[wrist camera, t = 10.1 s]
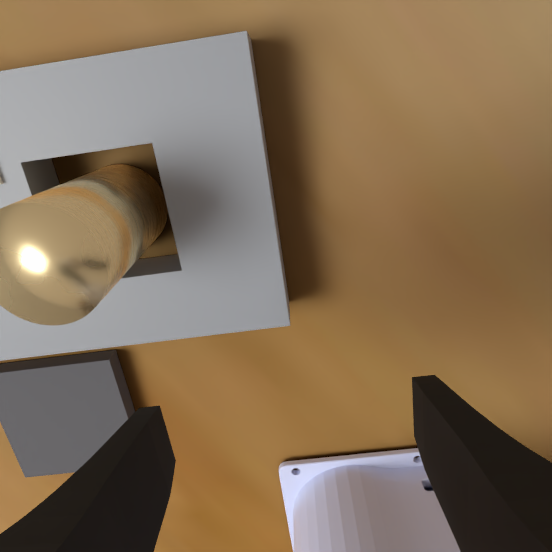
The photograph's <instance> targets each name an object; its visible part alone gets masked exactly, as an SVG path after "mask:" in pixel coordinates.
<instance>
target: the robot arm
mask: <svg viewBox="0 0 552 552" xmlns="http://www.w3.org/2000/svg"><path fill="white" fill-rule="evenodd" d="M412 388H413V416H414V437H415V440H416V443H417V447H418V448H413V449H403V450H393V451H384V452H374V453H364V454H354V455H344V456H334V457H325V458H315V459H305V460H295V461H286V462H283V463H281V464H280V466H279V476H280V482H281V487H282V493H283V498H284V504H285V509H286V515H287V520H288V526H289V531H290V537H291V542H292V548H293V552H552V463H551V462H550V461H548V460H546V459H545V458H543V457H541V456H540V455H538V454H536V453H535V452H533V451H531V450H530V449H528V448H527V447H525V446H524V445H522V444H521V443H519V442H518V441H516V440H515V439H514V438H512V437H511V436H509V435H508V434H506V433H505V432H504V431H502V430H501V429H499V428H498V427H497V426H495V425H494V424H493V423H492V422H490V421H489V420H488V419H487V418H485V417H484V416H483V415H481V414H480V413H479V412H478V411H476V410H475V409H474V408H473V407H471V406H470V405H469V404H468V403H467V402H466V401H464V400H463V399H462V398H461V397H460V396H458V395H457V394H456V393H455V392H454V391H453V390H452V389H450V388H449V387H448V386H447V385H446V384H445V383H444V382H442V381H441V380H440V379H439V378H438V377H436V376H435V375H429V376H420V377H412ZM415 456H419V457H417V458H414V457H415ZM175 461H176V460H175V457H174V453H173V450H172V446H171V443H170V440H169V436H168V433H167V429H166V426H165V422H164V419H163V416H162V412H161V409H160V406H153V407H144V408H139V409H138V410H137V411H136V412H135V413H134V414H133V415H132V416H131V417H130V418H129V419H128V420H127V421H126V422H125V423H124V424H123V425H122V426H121V427H120V428H119V429H118V430H117V431H116V432H115V433H114V434H113V435H112V436H111V437H110V438H109V439H108V440H107V442H106V443H105V444H104V445H103V446H102V447H101V448H100V449H99V450H98V451H97V452H96V453H95V454H94V455H93V456H92V457H91V458H90V459H89V460H88V461H87V462H86V463H85V464H84V465H83V466H81V467H80V468H79V469H78V470H77V471H76V472H75V473H74V474H73V475H72V476H71V477H70V478H69V479H68V480H67V481H66V482H65V483H63V484H62V485H61V486H60V487H59V488H58V489H57V490H56V491H55V492H53V493H52V494H51V495H50V496H49V497H48V498H46V499H45V500H44V501H43V502H42V503H40V504H39V505H38V506H37V507H35V508H34V509H33V510H32V511H31V512H29V513H28V514H27V515H26V516H24V517H23V518H22V519H20V520H19V521H18V522H16V523H15V524H14V525H12V526H11V527H9V528H8V529H7V530H5V531H4V532H3V533H1V534H0V552H154V548H155V545H156V542H157V538H158V535H159V532H160V528H161V525H162V522H163V518H164V515H165V511H166V508H167V504H168V501H169V497H170V493H171V487H172V481H173V475H174V468H175ZM294 468H298V470H294Z"/></svg>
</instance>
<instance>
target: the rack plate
mask: <svg viewBox="0 0 552 552" xmlns="http://www.w3.org/2000/svg"><path fill="white" fill-rule="evenodd" d="M148 143H152V144H153V148H154V153H155V157H156V161H157V166H158V170H159V174H160V178H161V183H162V187H163V191H164V195H165V200H166V204H167V208H168V213H169V217H170V221H171V225H172V230H173V234H174V238H175V242H176V247H177V251H178V254H175V255H168V256H160V257H153V258H145V259H138V260H137V261H136V262H135V263H134V264H133V265H132V267H131V268H130V269H129V270H128V271H127V272H126V273H125V274H124V276H123V277H122V278H121V279H120V280H119V281H118V282H117V284H116V285H115V286H114V287H113V288H112V289H111V290H110V291H109V293H108V294H107V295H106V296H105V297H104V298H103V299H102V300H101V302H100V303H99V304H98V305H97V306H96V307H95V308H94V309H93V310H92V311H91V312H90V313H89V314H88V315H87V316H85V317H83V318H82V319H80V320H78V321H75V322H73V323H69V324H65V325H40V324H36V323H32V322H29V321H26V320H23V319H21V318H19V317H17V316H15V315H14V314H12V313H10V312H9V311H7V310H6V309H4V308H3V307H2V306H1V305H0V361H1V360H9V359H18V358H26V357H34V356H43V355H51V354H59V353H67V352H76V351H84V350H92V349H100V348H109V347H117V346H125V345H133V344H142V343H150V342H158V341H166V340H175V339H183V338H191V337H200V336H208V335H216V334H224V333H233V332H241V331H249V330H257V329H266V328H274V327H282V326H290V311H289V298H288V291H287V284H286V277H285V270H284V263H283V256H282V249H281V242H280V236H279V229H278V222H277V215H276V208H275V201H274V194H273V187H272V180H271V174H270V167H269V160H268V153H267V146H266V139H265V132H264V125H263V119H262V112H261V105H260V98H259V91H258V84H257V77H256V70H255V63H254V57H253V50H252V43H251V38H250V36H249V35H248V33H247V31H243V32H237V33H231V34H225V35H219V36H213V37H206V38H200V39H194V40H188V41H182V42H176V43H170V44H164V45H158V46H151V47H145V48H139V49H133V50H127V51H121V52H115V53H109V54H103V55H96V56H90V57H84V58H78V59H72V60H66V61H60V62H54V63H47V64H41V65H35V66H29V67H23V68H17V69H11V70H5V71H0V209H1V208H3V207H5V206H7V205H10V204H12V203H15V202H18V201H20V200H23V199H25V198H28V197H30V196H33V195H35V194H38V193H40V192H43V191H45V190H48V189H50V188H53V187H55V186H58V185H60V184H59V181H58V177H57V174H56V171H55V168H54V165H53V162H52V159H51V158H55V157H61V156H68V155H75V154H81V153H88V152H95V151H101V150H108V149H115V148H121V147H128V146H135V145H141V144H148Z"/></svg>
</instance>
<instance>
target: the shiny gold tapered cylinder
mask: <svg viewBox="0 0 552 552" xmlns="http://www.w3.org/2000/svg"><path fill="white" fill-rule="evenodd" d="M167 216H168V208H167V204H166V200H165V195H164V193H163V191H162V189H161V187H160V186H159V184H158V183H157V182H156V181H155V180H154V179H153V178H152V177H151V176H150V175H149V174H147V173H146V172H145V171H143V170H141V169H139V168H136V167H134V166H130V165H124V164H115V165H110V166H106V167H103V168H101V169H98V170H96V171H93V172H91V173H88V174H86V175H83V176H81V177H78V178H76V179H73V180H71V181H68V182H66V183H63V184H60V185H58V186H55V187H53V188H50V189H48V190H45V191H43V192H40V193H38V194H35V195H33V196H30V197H28V198H25V199H23V200H20V201H18V202H15V203H12V204H10V205H7V206H5V207H3V208H1V209H0V305H1V306H2V307H3V308H4V309H6V310H7V311H9V312H10V313H12V314H14V315H15V316H17V317H19V318H21V319H23V320H26V321H29V322H32V323H36V324H40V325H65V324H69V323H73V322H75V321H78V320H80V319H82V318H83V317H85V316H87V315H88V314H89V313H90V312H91V311H92V310H93V309H94V308H95V307H96V306H97V305H98V304H99V303H100V302H101V300H102V299H103V298H104V297H105V296H106V295H107V294H108V293H109V291H110V290H111V289H112V288H113V287H114V286H115V285H116V284H117V282H118V281H119V280H120V279H121V278H122V277H123V276H124V274H125V273H126V272H127V271H128V270H129V269H130V268H131V267H132V265H133V264H134V263H135V262H136V261H137V260H138V259H139V258H140V256H141V255H142V254H143V253H144V252H145V251H146V250H147V249H148V247H149V246H150V245H151V244H152V243H153V242H154V241H155V240H156V238H157V237H158V236H159V235H160V234H161V232H162V231H163V229H164V227H165V224H166V221H167Z"/></svg>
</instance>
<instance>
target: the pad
mask: <svg viewBox="0 0 552 552" xmlns="http://www.w3.org/2000/svg"><path fill="white" fill-rule="evenodd" d="M134 413H135V409H134V406H133V403H132V400H131V397H130V393H129V390H128V387H127V384H126V381H125V377H124V374H123V371H122V368H121V365H120V361H119V358H118V355H117V352H116V350H110V351H101V352H93V353H85V354H76V355H68V356H60V357H51V358H43V359H35V360H27V361H18V362H10V363H2V364H0V422H1V424H2V427H3V429H4V431H5V433H6V436H7V438H8V440H9V442H10V444H11V447H12V449H13V451H14V453H15V455H16V458H17V460H18V462H19V464H20V467H21V469H22V471H23V473H24V475H25V477H34V476H43V475H53V474H62V473H72V472H76V471H77V470H78V469H79V468H80V467H81V466H83V465H84V464H85V463H86V462H87V461H88V460H89V459H90V458H91V457H92V456H93V455H94V454H95V453H96V452H97V451H98V450H99V449H100V448H101V447H102V446H103V445H104V444H105V443H106V442H107V440H108V439H109V438H110V437H111V436H112V435H113V434H114V433H115V432H116V431H117V430H118V429H119V428H120V427H121V426H122V425H123V424H124V423H125V422H126V421H127V420H128V419H129V418H130V417H131V416H132V415H133V414H134Z"/></svg>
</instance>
